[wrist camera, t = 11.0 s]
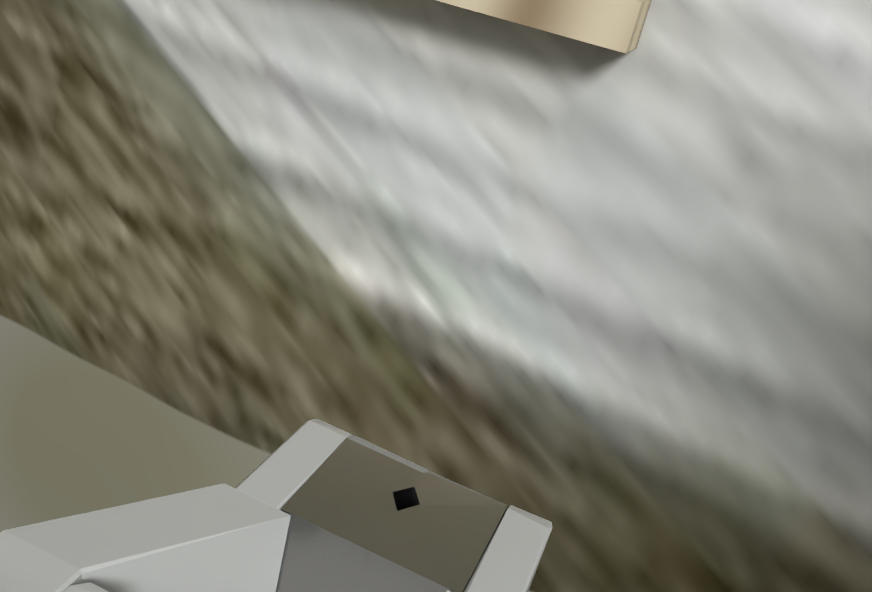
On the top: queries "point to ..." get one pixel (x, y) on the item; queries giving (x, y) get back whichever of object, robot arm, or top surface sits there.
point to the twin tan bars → (572, 18)
